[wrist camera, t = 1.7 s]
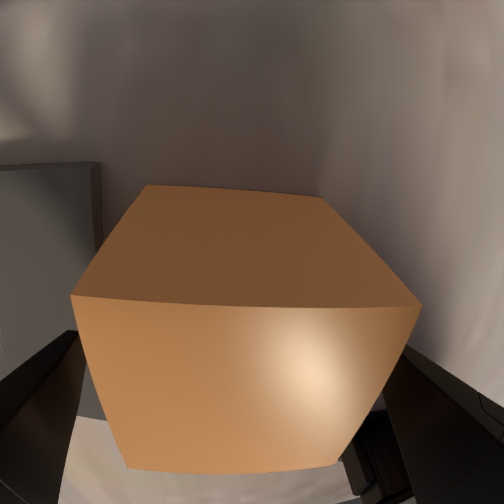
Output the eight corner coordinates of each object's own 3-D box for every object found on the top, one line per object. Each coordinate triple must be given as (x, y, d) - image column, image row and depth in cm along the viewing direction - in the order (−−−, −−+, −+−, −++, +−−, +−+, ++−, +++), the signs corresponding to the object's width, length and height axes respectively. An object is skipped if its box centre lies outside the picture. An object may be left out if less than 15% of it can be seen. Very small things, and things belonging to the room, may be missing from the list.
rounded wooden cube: (321, 197, 12) (423, 305, 6) (292, 331, 15) (334, 464, 8) (146, 184, 11) (69, 295, 5) (151, 327, 14) (127, 467, 7)
